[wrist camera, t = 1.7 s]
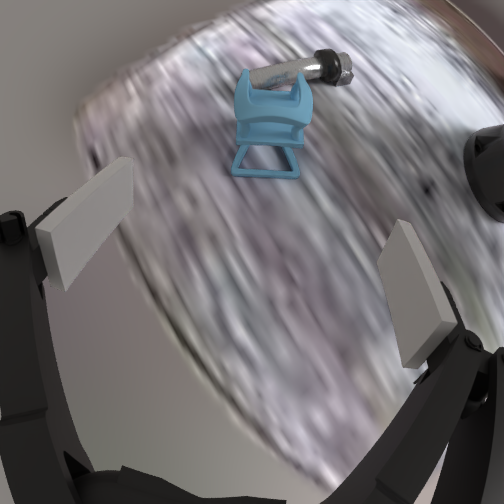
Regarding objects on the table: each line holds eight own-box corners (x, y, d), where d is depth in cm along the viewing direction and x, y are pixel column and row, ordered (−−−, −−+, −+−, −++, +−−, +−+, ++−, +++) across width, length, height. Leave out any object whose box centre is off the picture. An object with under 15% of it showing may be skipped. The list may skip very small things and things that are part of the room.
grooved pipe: (334, 61, 38) (342, 40, 33) (350, 84, 38) (360, 63, 33) (241, 82, 37) (241, 58, 32) (254, 107, 36) (255, 85, 32)
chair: (297, 119, 37) (315, 56, 25) (298, 180, 35) (322, 127, 23) (234, 116, 36) (232, 50, 24) (230, 176, 35) (226, 121, 23)
